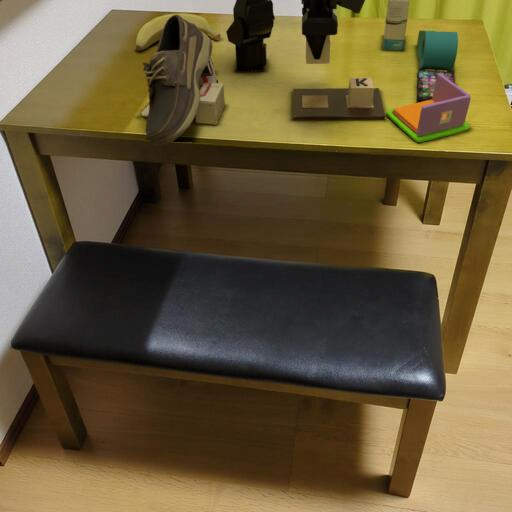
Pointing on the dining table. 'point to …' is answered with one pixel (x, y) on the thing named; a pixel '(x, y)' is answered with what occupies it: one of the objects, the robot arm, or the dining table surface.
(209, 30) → the banana
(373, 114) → the word board
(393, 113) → the miniature room corner
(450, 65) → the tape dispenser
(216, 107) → the small box
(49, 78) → the dining table surface
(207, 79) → the toy car
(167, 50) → the boat shoe
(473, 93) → the dining table surface
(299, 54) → the dining table surface
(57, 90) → the dining table surface
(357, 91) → the tile
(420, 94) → the smartphone
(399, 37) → the ink box
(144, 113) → the soap
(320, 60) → the tile
